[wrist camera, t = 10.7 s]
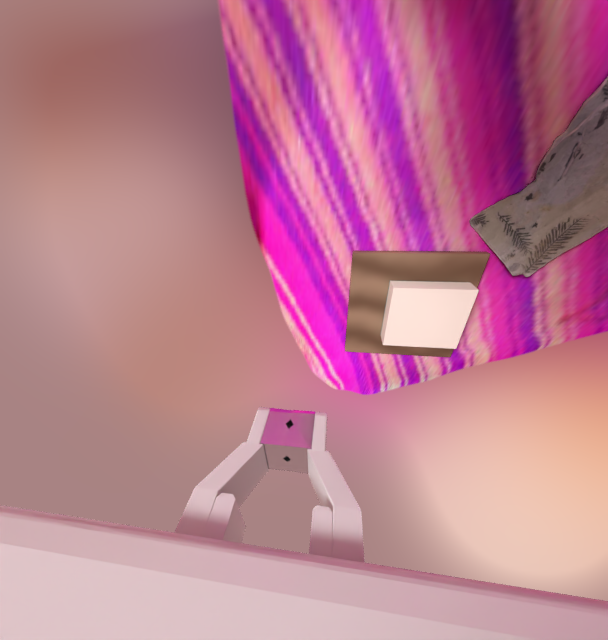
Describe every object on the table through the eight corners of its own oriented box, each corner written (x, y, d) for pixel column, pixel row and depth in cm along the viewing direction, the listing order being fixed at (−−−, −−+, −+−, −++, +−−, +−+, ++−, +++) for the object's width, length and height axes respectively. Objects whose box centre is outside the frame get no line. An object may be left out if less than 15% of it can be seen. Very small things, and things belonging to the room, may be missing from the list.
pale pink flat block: (393, 287, 33) (479, 290, 32) (389, 279, 36) (469, 281, 34) (382, 345, 39) (455, 348, 37) (380, 334, 41) (449, 338, 40)
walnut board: (352, 250, 35) (353, 252, 34) (486, 251, 33) (490, 254, 32) (344, 347, 45) (345, 351, 44) (448, 353, 43) (450, 357, 42)
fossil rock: (512, 279, 35) (522, 286, 33) (453, 203, 31) (460, 206, 29) (680, 174, 27) (707, 174, 25) (629, 51, 23) (656, 40, 21)
